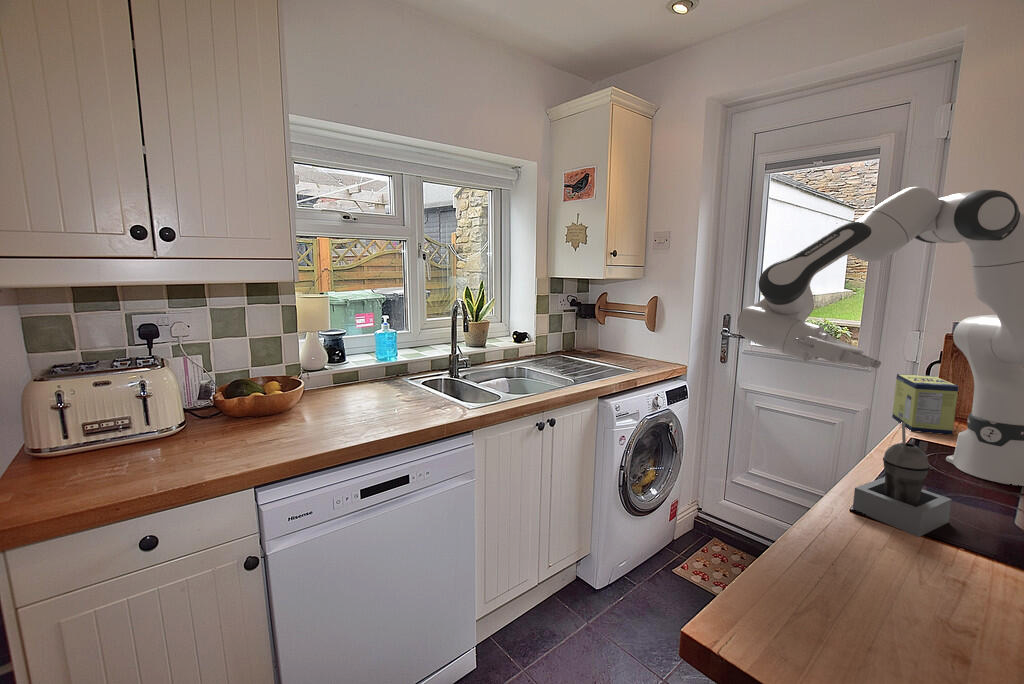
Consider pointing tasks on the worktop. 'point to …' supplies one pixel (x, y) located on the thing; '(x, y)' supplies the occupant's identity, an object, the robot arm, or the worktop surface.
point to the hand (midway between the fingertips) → (874, 364)
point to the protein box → (925, 403)
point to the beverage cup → (905, 471)
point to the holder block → (902, 508)
